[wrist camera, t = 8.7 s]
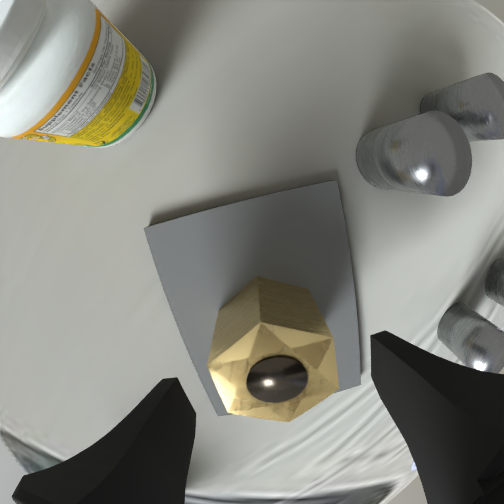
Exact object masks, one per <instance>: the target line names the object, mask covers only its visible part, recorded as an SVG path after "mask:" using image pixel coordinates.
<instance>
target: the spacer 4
mask: <svg viewBox="0 0 504 504" xmlns="http://www.w3.org/2000/svg"><path fill="white" fill-rule="evenodd" d="M485 292H486V295H487V296H488V297H489V298H490V299H492V300H494V301H495V302H497V303H499V304H500V305H502V306H503V307H504V259H498V260H497V261H495V262H494V264H493V265H492V266H491V268H490V270H489V272H488V275H487V278H486V283H485Z"/></svg>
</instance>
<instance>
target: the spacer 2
mask: <svg viewBox="0 0 504 504" xmlns="http://www.w3.org/2000/svg"><path fill="white" fill-rule="evenodd" d="M429 111H441V112H444V113H446V114H448V115H450V116H451V117H452V118H454V119H455V120H456V121H457V122H458V124H459V125H460V126H461V128H462V129H463V131H464V132H465V134H466V136H467V139H468V141H480V140H496V139H504V82H503V81H502V80H501V79H500V78H499V77H498V76H497V75H495V74H493V73H485V74H482V75H479V76H476V77H473V78H470V79H467V80H464V81H461V82H459V83H456V84H453V85H450V86H448V87H445V88H442V89H440V90H437V91H434V92H432V93H429V94H427V95H426V96H425V97H424V98H423V99H422V101H421V105H420V114H423V113H426V112H429Z"/></svg>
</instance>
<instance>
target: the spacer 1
mask: <svg viewBox="0 0 504 504" xmlns="http://www.w3.org/2000/svg"><path fill="white" fill-rule="evenodd" d="M356 161H357V165H358V168H359V171H360V173H361V174H362V176H363V177H364V178H365V180H366V181H367V182H369V183H370V184H371V185H373V186H375V187H378V188H383V189H393V190H402V191H410V192H418V193H426V194H433V195H440V196H452V195H455V194H457V193H459V192H460V191H461V190H462V189H463V188H464V186H465V185H466V183H467V181H468V179H469V176H470V173H471V167H472V155H471V149H470V145H469V142H468V139H467V136H466V134H465V132H464V131H463V129H462V128H461V126H460V125H459V124H458V122H457V121H456V120H455V119H454V118H452V117H451V116H450V115H448V114H446V113H444V112H441V111H429V112H426V113H423V114H420V115H416V116H413V117H410V118H407V119H404V120H401V121H398V122H395V123H392V124H389V125H386V126H383V127H380V128H378V129H375V130H372V131H369V132H368V133H366V134H365V135H364V136H363V137H362V138H361V139H360V141H359V143H358V146H357V150H356Z"/></svg>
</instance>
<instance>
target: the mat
mask: <svg viewBox="0 0 504 504" xmlns="http://www.w3.org/2000/svg"><path fill="white" fill-rule="evenodd" d="M144 231H145V234H146V237H147V241H148V244H149V247H150V250H151V253H152V257H153V260H154V263H155V266H156V269H157V272H158V275H159V278H160V280H161V283H162V286H163V289H164V292H165V295H166V297H167V300H168V303H169V305H170V308H171V311H172V313H173V316H174V319H175V321H176V324H177V326H178V329H179V331H180V334H181V336H182V339H183V341H184V343H185V346H186V348H187V351H188V353H189V355H190V358H191V360H192V362H193V364H194V367H195V369H196V371H197V373H198V376H199V378H200V380H201V382H202V384H203V387H204V389H205V391H206V393H207V395H208V397H209V399H210V401H211V403H212V405H213V407H214V409H215V411H216V413H217V415H218V416H223V415H231V414H232V413H228V411H227V409H226V407H225V405H224V403H223V401H222V398H221V396H220V394H219V392H218V390H217V387H216V385H215V383H214V381H213V378H212V376H211V374H210V372H209V369H208V367H207V363H208V358H209V353H210V348H211V343H212V338H213V334H214V329H215V324H216V319H217V315H218V310H220V309H221V308H222V307H223V306H224V305H225V304H226V303H227V302H228V301H230V300H231V299H232V298H233V297H234V296H235V295H236V294H237V293H238V292H239V291H241V290H242V289H243V288H244V287H245V286H246V285H247V284H248V283H249V282H250V281H252V280H253V279H254V278H255V277H256V276H259V277H263V278H267V279H271V280H274V281H278V282H282V283H286V284H290V285H294V286H298V287H302V288H306V289H308V290H309V292H310V293H311V295H312V297H313V299H314V301H315V303H316V305H317V307H318V309H319V311H320V312H321V314H322V316H323V318H324V320H325V322H326V324H327V326H328V328H329V330H330V332H331V334H332V336H333V339H334V346H335V355H336V363H337V372H338V382H339V389H338V390H337V391H335V392H334V393H336V392H339V391H343V390H346V389H349V388H352V387H356V386H359V385H361V375H360V351H359V334H358V321H357V309H356V299H355V290H354V281H353V273H352V265H351V258H350V251H349V244H348V237H347V231H346V225H345V219H344V214H343V208H342V203H341V198H340V193H339V188H338V183H337V180H331V181H326V182H322V183H317V184H312V185H307V186H303V187H298V188H293V189H289V190H284V191H280V192H276V193H271V194H267V195H263V196H259V197H255V198H250V199H246V200H242V201H238V202H234V203H230V204H226V205H223V206H219V207H215V208H211V209H207V210H204V211H200V212H196V213H193V214H189V215H185V216H182V217H178V218H175V219H171V220H168V221H164V222H161V223H157V224H154V225H151V226H148V227H146V228H144Z"/></svg>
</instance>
